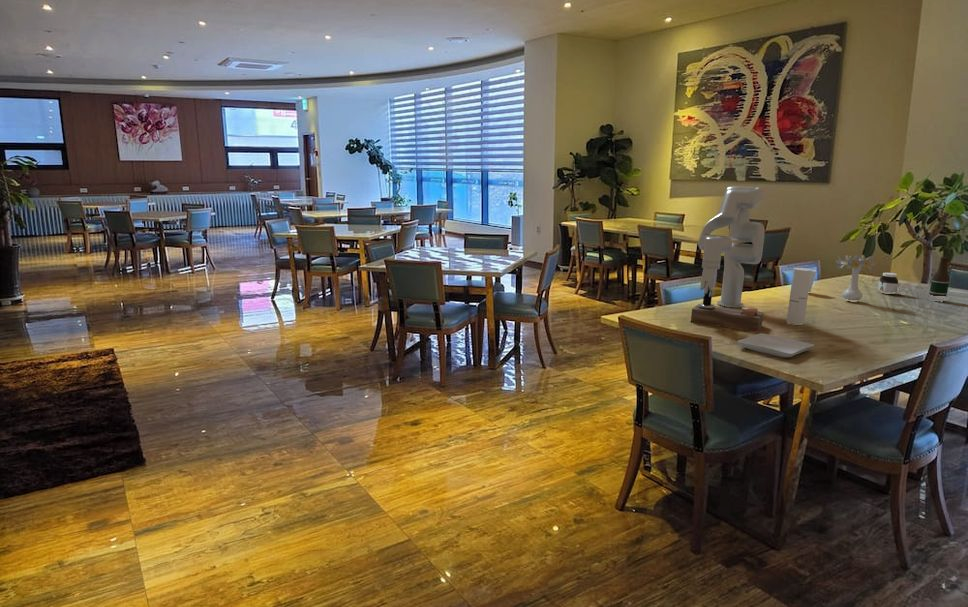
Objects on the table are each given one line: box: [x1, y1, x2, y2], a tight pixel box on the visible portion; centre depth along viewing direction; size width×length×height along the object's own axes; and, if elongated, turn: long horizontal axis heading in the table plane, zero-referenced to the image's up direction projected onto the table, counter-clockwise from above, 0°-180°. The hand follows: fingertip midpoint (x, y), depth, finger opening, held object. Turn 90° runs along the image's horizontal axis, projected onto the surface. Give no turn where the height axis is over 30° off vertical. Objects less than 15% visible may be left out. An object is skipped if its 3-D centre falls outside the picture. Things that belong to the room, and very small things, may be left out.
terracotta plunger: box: [741, 306, 759, 316], centre depth 270 cm, size 6×6×6 cm
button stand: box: [690, 303, 764, 332], centre depth 275 cm, size 12×28×6 cm, turn 58°
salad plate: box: [736, 332, 815, 359], centre depth 237 cm, size 21×21×3 cm
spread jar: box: [877, 272, 904, 293], centre depth 348 cm, size 12×11×12 cm
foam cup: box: [809, 268, 817, 293], centre depth 347 cm, size 10×9×13 cm
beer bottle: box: [928, 256, 950, 297], centre depth 331 cm, size 8×8×24 cm
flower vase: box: [835, 254, 877, 301], centre depth 325 cm, size 13×18×25 cm
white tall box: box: [786, 267, 813, 326], centre depth 275 cm, size 7×7×25 cm
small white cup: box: [698, 302, 715, 310], centre depth 279 cm, size 6×6×6 cm
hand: (706, 304), depth 279 cm, fingers closed
